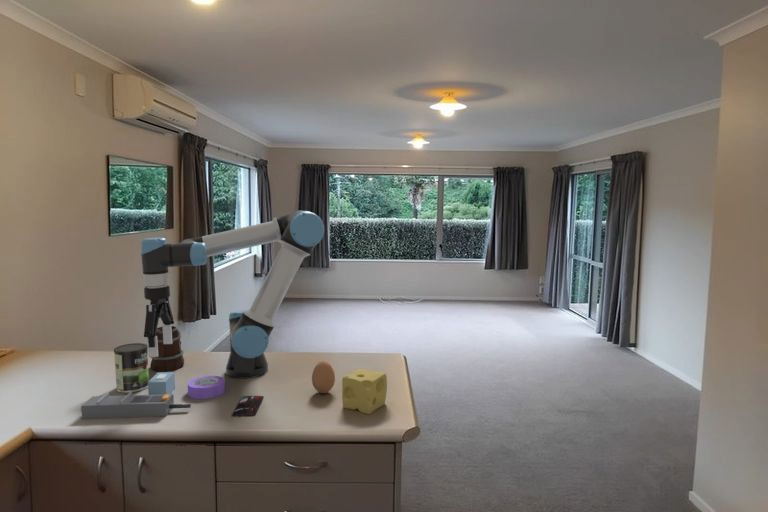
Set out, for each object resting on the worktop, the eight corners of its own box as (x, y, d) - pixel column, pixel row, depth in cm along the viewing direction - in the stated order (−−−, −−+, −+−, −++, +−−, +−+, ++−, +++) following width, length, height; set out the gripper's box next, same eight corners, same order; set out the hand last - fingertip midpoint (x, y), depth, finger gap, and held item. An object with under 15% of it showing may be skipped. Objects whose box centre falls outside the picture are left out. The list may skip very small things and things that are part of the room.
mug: (176, 372, 190) (174, 332, 188) (144, 371, 191) (142, 332, 189) (194, 358, 205) (192, 322, 204) (165, 357, 206) (163, 321, 204)
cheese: (369, 415, 153) (369, 383, 152) (340, 407, 159) (340, 376, 158) (387, 403, 162) (387, 373, 161) (359, 396, 168) (359, 366, 167)
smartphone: (230, 416, 152) (242, 395, 167) (230, 418, 152) (242, 397, 167) (255, 415, 152) (264, 395, 167) (255, 417, 152) (264, 397, 167)
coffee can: (156, 383, 179) (154, 343, 177) (136, 394, 169) (133, 352, 167) (130, 380, 181) (127, 342, 179) (109, 391, 171) (106, 350, 169)
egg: (325, 386, 176) (325, 356, 174) (339, 393, 170) (339, 361, 169) (307, 392, 170) (307, 361, 169) (321, 399, 165) (321, 366, 164)
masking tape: (183, 390, 172) (183, 379, 172) (218, 383, 179) (217, 372, 179) (193, 402, 163) (193, 390, 162) (229, 393, 170) (229, 382, 169)
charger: (175, 389, 174) (174, 371, 173) (166, 399, 165) (165, 380, 164) (158, 389, 173) (157, 371, 172) (148, 400, 164) (147, 381, 163)
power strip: (193, 405, 160) (193, 390, 159) (187, 415, 153) (186, 399, 152) (93, 408, 157) (92, 393, 156) (82, 418, 150) (80, 402, 150)
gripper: (158, 279, 177) (162, 339, 179) (128, 293, 152) (134, 363, 155) (180, 279, 177) (184, 338, 180) (154, 293, 152) (159, 362, 155)
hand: (161, 350), depth 167 cm, fingers open, 13 cm apart
